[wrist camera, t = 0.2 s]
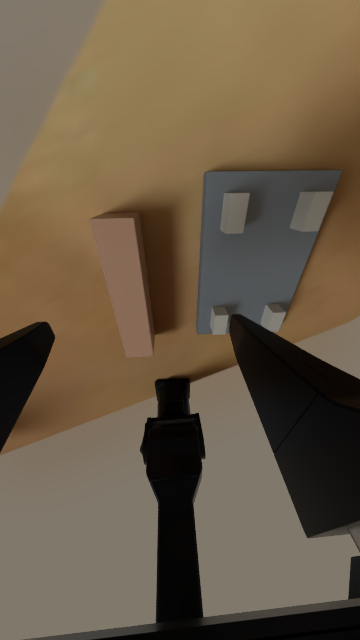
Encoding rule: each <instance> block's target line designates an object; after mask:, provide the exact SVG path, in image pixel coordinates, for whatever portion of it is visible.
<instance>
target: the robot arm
mask: <svg viewBox="0 0 360 640" xmlns="http://www.w3.org/2000/svg"><path fill="white" fill-rule="evenodd" d="M229 333H230V337H231V341H232V345H233V348H234V352H235V356H236V359H237V362H238V364H239V367H240V369H241V372H242V374H243V377H244V379H245V382H246V384H247V387H248V390H249V392H250V395H251V397H252V400H253V402H254V405H255V407H256V410H257V412H258V415H259V417H260V420H261V422H262V425H263V428H264V430H265V433H266V435H267V438H268V440H269V443H270V445H271V448H272V450H273V453H274V456H275V458H276V461H277V463H278V466H279V468H280V471H281V474H282V476H283V479H284V481H285V484H286V486H287V489H288V492H289V494H290V496H291V499H292V502H293V504H294V507H295V509H296V512H297V514H298V517H299V520H300V522H301V525H302V527H303V530H304V532H305V534H306V536H307V538H316V537H325V536H335V535H344V534H350V535H351V536H352V538H353V540H354V542H355V544H356V546H357V548H358V549H359V551H360V379H358V378H356V377H354V376H352V375H350V374H348V373H346V372H344V371H342V370H340V369H338V368H336V367H334V366H332V365H330V364H328V363H326V362H324V361H322V360H321V359H319V358H317V357H315V356H313V355H311V354H310V353H308V352H306V351H305V350H301V348H299V347H297V346H296V345H294V344H292V343H290V342H289V341H287V340H285V339H283V338H282V337H280V336H278V335H276V334H275V333H273V332H271V331H269V330H268V329H266V328H264V327H262V326H261V325H259V324H257V323H255V322H254V321H252V320H250V319H248V318H247V317H245V316H243V315H241V314H232V316H231V319H230V325H229ZM54 340H55V335H54V333H53V331H52V329H51V327H50V325H49V323H47V322H36V323H34V324H31V325H29V326H27V327H25V328H23V329H20V330H18V331H16V332H14V333H12V334H9V335H7V336H5V337H3V338H1V339H0V452H1V450H2V448H3V446H4V445H5V443H6V441H7V439H8V437H9V435H10V433H11V431H12V429H13V427H14V425H15V423H16V421H17V419H18V417H19V415H20V413H21V411H22V409H23V408H24V406H25V404H26V402H27V400H28V398H29V396H30V394H31V392H32V390H33V388H34V386H35V384H36V382H37V380H38V378H39V376H40V374H41V372H42V370H43V368H44V366H45V364H46V361H47V359H48V356H49V353H50V351H51V348H52V346H53V343H54ZM155 388H156V394H157V401H158V416H157V418H151V417H150V418H147V423H146V424H145V432H144V437H143V440H142V444H141V447H140V452H141V453H142V455H143V459H144V464H145V465H146V474H147V477H148V479H149V482H150V484H151V487H152V489H153V491H154V494H155V496H156V499H157V501H158V549H157V600H156V601H157V602H156V623H155V624H146V625H138V626H131V627H123V628H114V629H106V630H98V631H90V632H82V633H74V634H66V635H57V636H49V637H42V638H33V639H25V640H360V556H355V557H351V567H350V582H349V597H348V600H341V601H333V602H325V603H316V604H308V605H301V606H292V607H284V608H276V609H268V610H260V611H252V612H243V613H236V614H228V615H219V616H211V617H203V609H202V598H201V586H200V575H199V564H198V553H197V543H196V542H197V541H196V530H195V518H194V507H193V504H194V501H195V497H196V495H197V491H198V488H199V485H200V482H201V478H202V462H201V459H205V446H204V439H203V433H202V428H201V422H200V417H199V413H196V414H190V407H189V397H190V379H172V380H157V381H155Z"/></svg>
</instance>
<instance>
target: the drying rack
mask: <svg viewBox="0 0 360 640" xmlns="http://www.w3.org/2000/svg"><path fill="white" fill-rule="evenodd" d="M342 171H343V170H304V171H218V172H205V173H204V183H203V203H202V223H201V243H200V263H199V282H198V302H197V322H196V329H197V334H213V335H221V334H225V333H229V325H230V319H231V316H232V314H241V315H243V316H245V317H247V318H248V319H250V320H252V321H254V322H255V323H257V324H259V325H261V326H262V327H264V328H266V329H268V330H269V331H271V332H277V331H279V330H280V328H281V325H282V323H283V320H284V318H285V315H286V313H287V310H288V308H289V305H290V303H291V300H292V298H293V295H294V293H295V290H296V287H297V285H298V282H299V280H300V277H301V275H302V272H303V270H304V267H305V265H306V262H307V260H308V257H309V255H310V252H311V250H312V247H313V245H314V242H315V240H316V237H317V234H318V232H319V229H320V227H321V224H322V222H323V219H324V217H325V214H326V212H327V209H328V207H329V204H330V202H331V199H332V197H333V194H334V192H335V189H336V187H337V184H338V181H339V179H340V176H341V174H342Z"/></svg>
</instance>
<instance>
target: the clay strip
mask: <svg viewBox="0 0 360 640" xmlns="http://www.w3.org/2000/svg"><path fill="white" fill-rule="evenodd" d="M89 220H90V224H91V228H92V231H93V235H94V239H95V243H96V246H97V250H98V254H99V257H100V261H101V265H102V268H103V272H104V276H105V280H106V283H107V287H108V291H109V294H110V298H111V302H112V305H113V309H114V313H115V317H116V320H117V324H118V328H119V331H120V335H121V339H122V342H123V346H124V350H125V354H126V357H144V356H153V354H154V340H155V332H154V324H153V316H152V308H151V300H150V292H149V284H148V276H147V268H146V260H145V252H144V244H143V236H142V228H141V220H140V212H134V213H103V214H100V215H98V216H95V217H93V218H90V219H89Z"/></svg>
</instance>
